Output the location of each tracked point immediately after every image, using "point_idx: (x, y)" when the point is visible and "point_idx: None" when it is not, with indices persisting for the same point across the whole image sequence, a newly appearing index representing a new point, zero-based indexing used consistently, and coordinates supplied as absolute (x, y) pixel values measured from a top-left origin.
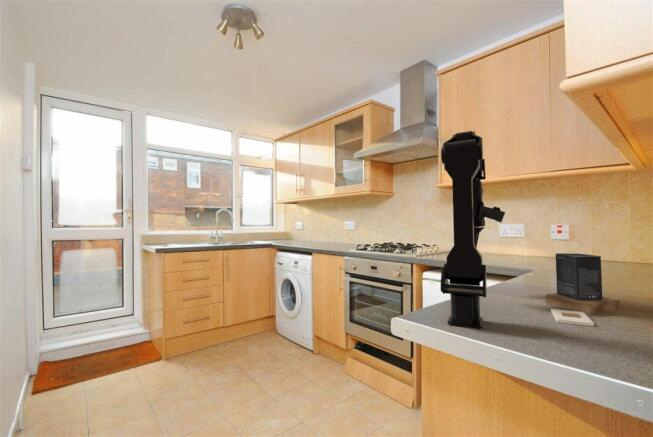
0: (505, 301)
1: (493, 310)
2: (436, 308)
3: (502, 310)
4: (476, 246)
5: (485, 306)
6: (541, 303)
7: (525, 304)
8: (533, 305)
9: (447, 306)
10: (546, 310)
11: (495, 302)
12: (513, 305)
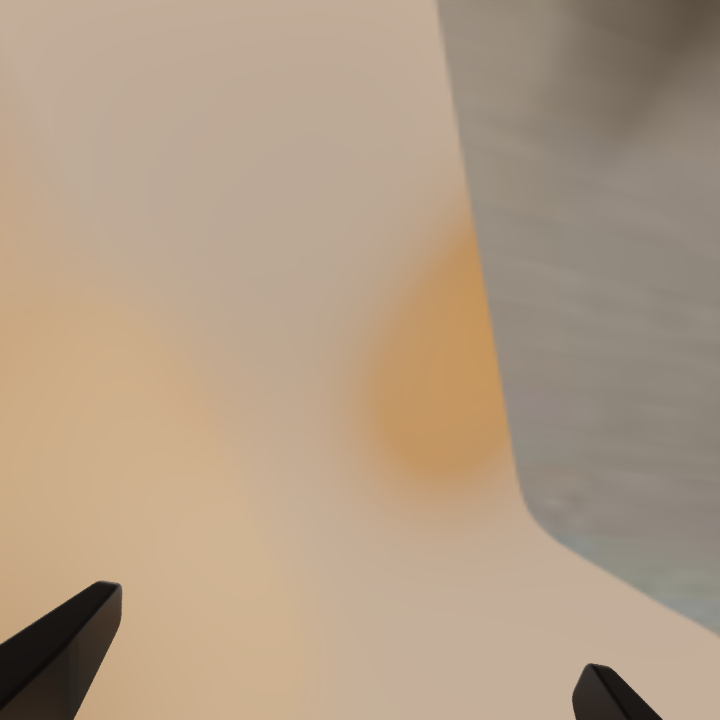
0: (495, 243)
1: (711, 350)
2: (684, 582)
3: (710, 305)
4: (86, 624)
5: (629, 374)
6: (516, 13)
7: (558, 137)
8: (579, 91)
9: (643, 539)
10: (702, 45)
11: (530, 306)
12: (592, 219)
